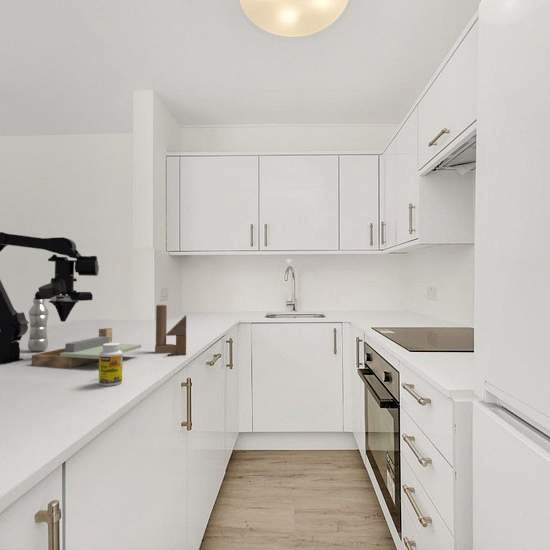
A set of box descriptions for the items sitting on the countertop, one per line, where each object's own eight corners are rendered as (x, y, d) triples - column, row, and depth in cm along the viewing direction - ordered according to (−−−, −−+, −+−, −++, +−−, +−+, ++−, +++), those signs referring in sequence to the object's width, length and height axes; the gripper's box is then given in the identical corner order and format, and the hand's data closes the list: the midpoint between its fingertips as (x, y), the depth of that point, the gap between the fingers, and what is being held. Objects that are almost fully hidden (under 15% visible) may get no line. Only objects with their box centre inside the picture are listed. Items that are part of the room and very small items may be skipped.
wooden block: (186, 355, 139) (186, 305, 139) (154, 356, 136) (155, 305, 136) (185, 353, 142) (186, 304, 143) (155, 354, 140) (155, 304, 140)
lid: (60, 356, 114) (60, 344, 114) (105, 345, 133) (105, 335, 133) (101, 359, 110) (101, 346, 110) (141, 347, 130) (141, 337, 130)
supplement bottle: (96, 387, 96) (97, 346, 96) (101, 381, 101) (101, 342, 101) (120, 386, 97) (120, 345, 97) (123, 380, 102) (124, 342, 103)
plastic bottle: (43, 349, 149) (43, 297, 149) (51, 351, 145) (52, 298, 145) (24, 351, 144) (25, 298, 144) (32, 353, 140) (33, 298, 140)
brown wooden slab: (31, 368, 116) (31, 355, 116) (80, 356, 135) (80, 344, 135) (71, 371, 113) (71, 357, 113) (114, 358, 132) (115, 346, 132)
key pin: (98, 353, 141) (98, 328, 141) (104, 352, 144) (104, 327, 144) (106, 354, 140) (106, 329, 140) (111, 352, 143) (112, 328, 143)
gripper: (21, 274, 125) (19, 322, 124) (68, 274, 120) (67, 325, 120) (49, 275, 136) (48, 319, 135) (94, 275, 131) (93, 321, 130)
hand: (63, 321), depth 130 cm, fingers closed
